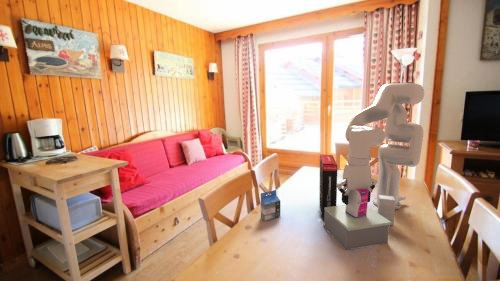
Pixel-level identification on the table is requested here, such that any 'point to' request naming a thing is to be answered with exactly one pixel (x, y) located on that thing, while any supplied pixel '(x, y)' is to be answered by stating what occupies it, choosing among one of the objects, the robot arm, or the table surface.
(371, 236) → the storage box
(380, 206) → the skincare box
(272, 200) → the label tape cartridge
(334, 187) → the graphics card box
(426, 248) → the table surface
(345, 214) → the box lid
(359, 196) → the supplement box
